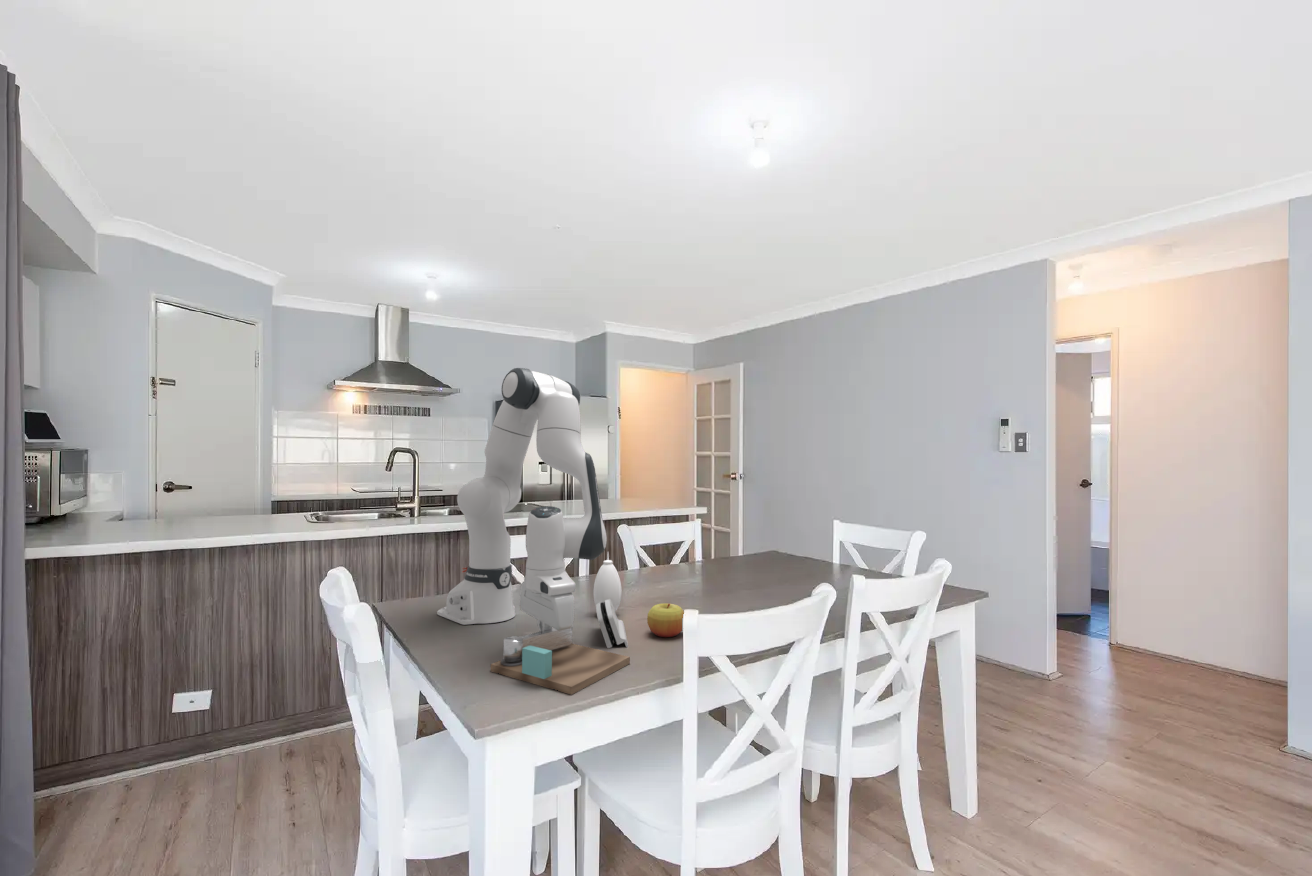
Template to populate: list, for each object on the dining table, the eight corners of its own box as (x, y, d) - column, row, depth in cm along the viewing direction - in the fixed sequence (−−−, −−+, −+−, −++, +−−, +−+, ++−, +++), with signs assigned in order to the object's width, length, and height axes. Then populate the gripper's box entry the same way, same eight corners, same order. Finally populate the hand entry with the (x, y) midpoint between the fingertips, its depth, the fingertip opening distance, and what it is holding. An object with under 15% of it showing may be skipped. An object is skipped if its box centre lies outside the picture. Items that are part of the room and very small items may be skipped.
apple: (683, 641, 149) (684, 609, 149) (644, 639, 150) (644, 607, 151) (686, 629, 159) (686, 599, 159) (649, 627, 160) (650, 597, 160)
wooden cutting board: (490, 671, 128) (490, 662, 128) (553, 645, 145) (553, 637, 145) (571, 694, 116) (571, 685, 116) (629, 663, 133) (629, 655, 134)
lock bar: (510, 663, 127) (510, 636, 127) (499, 658, 129) (500, 632, 129) (574, 645, 139) (575, 620, 139) (564, 641, 142) (564, 617, 142)
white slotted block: (628, 647, 144) (614, 608, 144) (609, 654, 144) (595, 615, 144) (624, 626, 161) (612, 591, 161) (607, 633, 160) (595, 597, 160)
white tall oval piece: (588, 613, 173) (589, 550, 173) (611, 609, 177) (612, 548, 178) (602, 620, 166) (603, 554, 167) (626, 616, 171) (627, 552, 171)
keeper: (521, 672, 123) (522, 648, 123) (529, 669, 125) (529, 645, 125) (544, 679, 120) (544, 653, 120) (551, 675, 122) (552, 650, 122)
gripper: (513, 572, 144) (512, 630, 144) (553, 589, 128) (553, 655, 128) (537, 569, 148) (537, 625, 148) (579, 585, 132) (579, 649, 132)
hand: (544, 639), depth 138 cm, fingers closed
